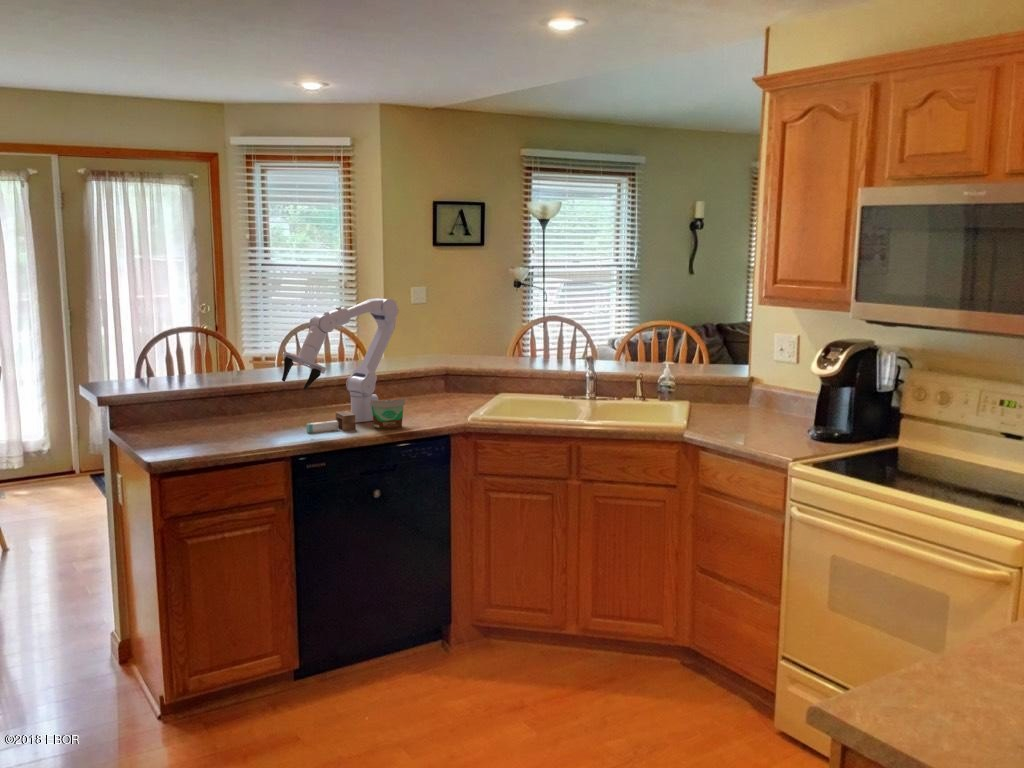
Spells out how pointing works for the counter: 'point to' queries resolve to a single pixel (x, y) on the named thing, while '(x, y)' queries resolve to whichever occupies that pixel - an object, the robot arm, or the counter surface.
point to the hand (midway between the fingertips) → (294, 385)
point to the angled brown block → (346, 420)
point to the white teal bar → (322, 426)
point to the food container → (387, 414)
